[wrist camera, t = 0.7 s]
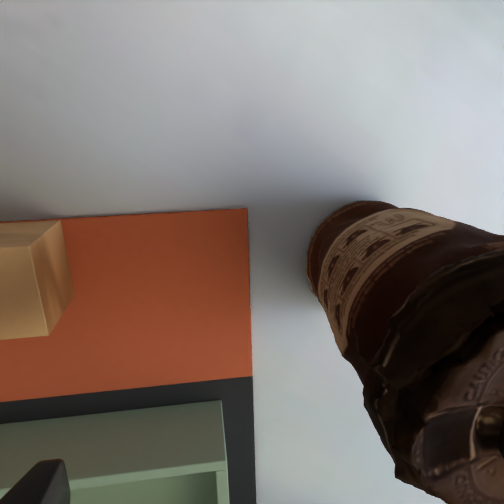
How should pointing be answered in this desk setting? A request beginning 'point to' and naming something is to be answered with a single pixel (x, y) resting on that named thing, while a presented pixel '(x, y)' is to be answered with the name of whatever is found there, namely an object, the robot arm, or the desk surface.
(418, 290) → the coffee cup
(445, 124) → the desk surface
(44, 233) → the beech block
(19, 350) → the placemat
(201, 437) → the open storage box
